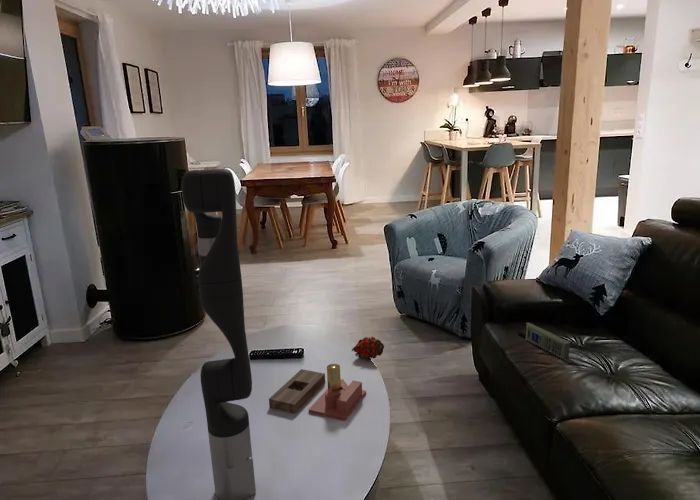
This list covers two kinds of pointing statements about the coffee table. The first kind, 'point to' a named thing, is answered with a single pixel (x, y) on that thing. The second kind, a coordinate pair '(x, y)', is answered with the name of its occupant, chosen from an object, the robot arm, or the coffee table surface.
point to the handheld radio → (546, 341)
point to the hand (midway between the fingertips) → (217, 305)
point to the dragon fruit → (369, 348)
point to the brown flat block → (293, 398)
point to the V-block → (339, 401)
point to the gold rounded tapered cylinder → (333, 377)
